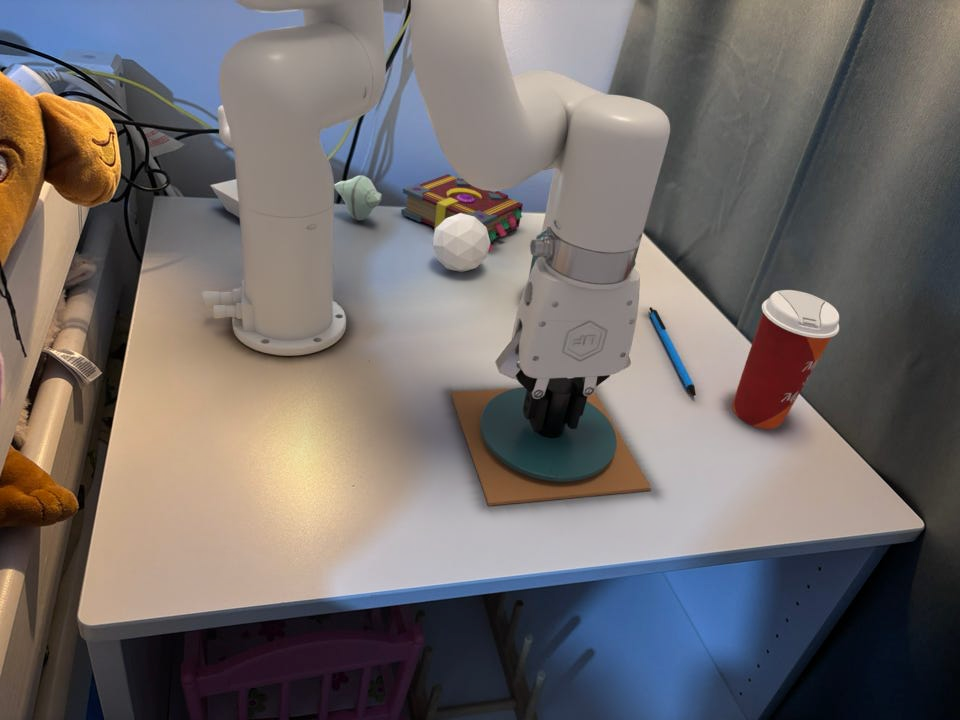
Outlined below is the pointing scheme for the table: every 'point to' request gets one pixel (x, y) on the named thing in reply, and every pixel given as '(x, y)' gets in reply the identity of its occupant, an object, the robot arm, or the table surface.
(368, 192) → the pale green seashell
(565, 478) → the lid
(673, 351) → the pen
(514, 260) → the table surface
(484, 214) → the decorative book
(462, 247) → the geometric ball
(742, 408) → the paper cup
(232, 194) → the figurine
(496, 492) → the mat
